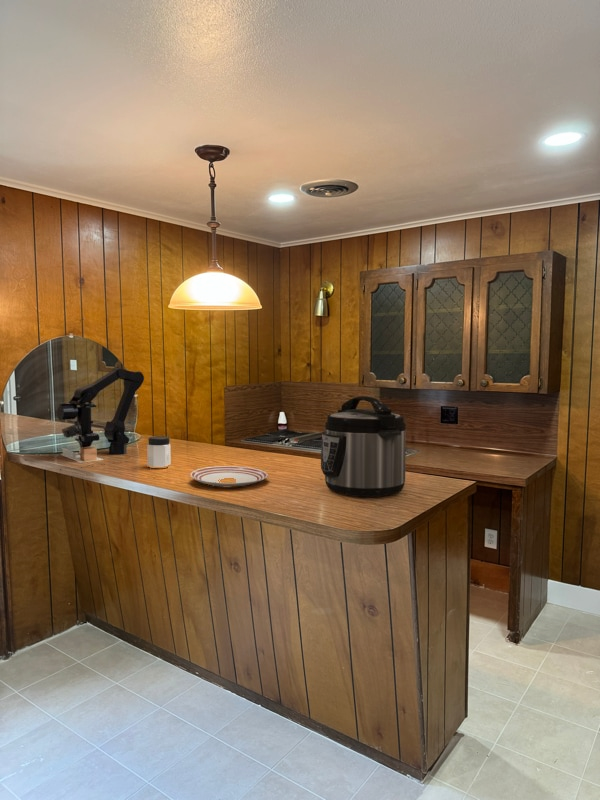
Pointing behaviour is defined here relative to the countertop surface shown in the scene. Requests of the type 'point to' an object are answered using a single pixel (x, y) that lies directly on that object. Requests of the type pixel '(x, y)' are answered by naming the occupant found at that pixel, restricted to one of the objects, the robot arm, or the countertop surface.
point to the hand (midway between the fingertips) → (84, 455)
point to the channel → (72, 456)
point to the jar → (158, 451)
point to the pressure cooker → (364, 450)
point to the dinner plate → (228, 475)
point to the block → (88, 453)
